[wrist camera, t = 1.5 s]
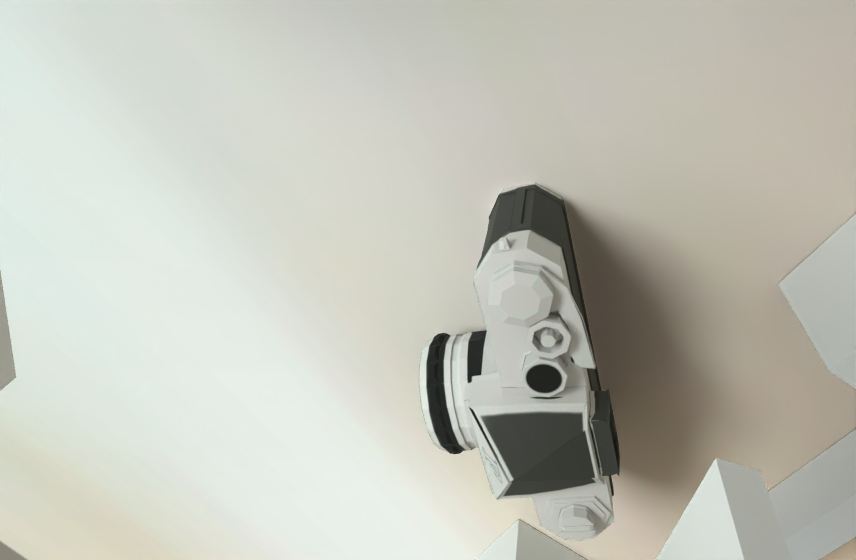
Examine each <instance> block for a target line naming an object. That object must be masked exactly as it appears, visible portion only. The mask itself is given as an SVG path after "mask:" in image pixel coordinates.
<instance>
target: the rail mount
mask: <svg viewBox="0 0 856 560" xmlns="http://www.w3.org/2000/svg"><path fill="white" fill-rule="evenodd" d="M778 285H779V287H780V289H781V290H782V292H783V294H784V296H785V297H786V299H787V301H788V302H789V304H790V306H791V308H792V309H793V311H794V313H795V314H796V316H797V318H798V320H799V321H800V323H801V325H802V326H803V328H804V330H805V332H806V333H807V335H808V337H809V338H810V340H811V342H812V343H813V345H814V347H815V349H816V350H817V352H818V354H819V355H820V357H821V359H822V361H823V362H824V364H825V366H826V367H827V369H828V371H829V372H831V373H832V374H834V375H835V376H837V377H838V378H840V379H841V380H843V381H844V382H846V383H847V384H849V385H850V386H852V387H853V388H854V389H856V214H854V215H853V216H852V217H851V218H850V219H849V220H848V221H847V222H846V223H845V224H843V225H842V226H841V227H840V228H839V229H838V230H837V231H836V232H835V233H834V234H832V235H831V236H830V237H829V238H828V239H827V240H826V241H825V242H824V243H823V244H821V245H820V246H819V247H818V248H817V249H816V250H815V251H814V252H813V253H812V254H810V255H809V256H808V257H807V258H806V259H805V260H804V261H803V262H802V263H800V264H799V265H798V266H797V267H796V268H795V269H794V270H793V271H792V272H791V273H789V274H788V275H787V276H786V277H785V278H784V279H783V280H782V281H781V282H780V283H778ZM768 494H769V497H770V499H771V502H772V505H773V508H774V511H775V514H776V516H777V519H778V522H779V525H780V528H781V531H782V533H783V536H784V539H785V542H786V545H787V548H788V550H789V553H790V556H791V559H792V560H820V559H821V558H823V557H824V556H826V555H828V554H829V553H831V552H833V551H834V550H836V549H837V548H839V547H841V546H842V545H844V544H845V543H847V542H849V541H850V540H852V539H853V538H855V537H856V429H855V430H853V431H852V432H851V433H849V434H848V435H846V436H845V437H844V438H842V439H841V440H839V441H838V442H837V443H835V444H834V445H832V446H831V447H830V448H828V449H827V450H825V451H824V452H823V453H821V454H820V455H818V456H817V457H816V458H814V459H813V460H812V461H810V462H809V463H807V464H806V465H805V466H803V467H802V468H800V469H799V470H798V471H796V472H795V473H793V474H792V475H791V476H789V477H788V478H786V479H785V480H784V481H782V482H781V483H779V484H778V485H777V486H775V487H774V488H773V489H771V490H770V491H768ZM475 560H586V559H584V558H583V557H581V556H579V555H578V554H576V553H574V552H573V551H571V550H569V549H568V548H566V547H564V546H563V545H561V544H559V543H558V542H556V541H554V540H553V539H551V538H549V537H548V536H546V535H544V534H543V533H541V532H539V531H538V530H536V529H534V528H533V527H531V526H529V525H528V524H526V523H524V522H523V521H521V520H519V519H518V520H517V521H516V522H515V523H514V524H513V525H512V526H511V527H510V528H509V529H507V530H506V531H505V532H504V533H503V534H502V535H501V536H500V537H499V538H498V539H496V540H495V541H494V542H493V543H492V544H491V545H490V546H489V547H488V548H487V549H485V550H484V551H483V552H482V553H481V554H480V555H479V556H478V557H477V558H476V559H475Z"/></svg>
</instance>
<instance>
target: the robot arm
mask: <svg viewBox="0 0 856 560" xmlns="http://www.w3.org/2000/svg"><path fill="white" fill-rule="evenodd" d="M14 378H16V373H15V367H14V360H13V353H12V347H11V340H10V333H9V326H8V320H7V313H6V306H5V299H4V293H3V286H2V279H1V272H0V390H2V389H3V388H4V387H5V386H6V385H7V384H9V383H10V382H11V381H12V380H13V379H14ZM656 560H792V559H791V556H790V553H789V550H788V548H787V545H786V542H785V539H784V536H783V533H782V531H781V528H780V525H779V522H778V519H777V516H776V514H775V511H774V508H773V505H772V502H771V499H770V497H769V494H768V491H767V488H766V485H765V482H764V480H763V477H762V474H761V471H760V470H758V469H754V468H750V467H747V466H743V465H739V464H736V463H732V462H729V461H725V460H721V459H718V458H715V460H714V462H713V463H712V465H711V467H710V469H709V470H708V472H707V474H706V475H705V477H704V479H703V480H702V482H701V484H700V485H699V487H698V489H697V491H696V492H695V494H694V496H693V497H692V499H691V501H690V502H689V504H688V506H687V507H686V509H685V511H684V513H683V514H682V516H681V518H680V519H679V521H678V523H677V524H676V526H675V528H674V529H673V531H672V533H671V535H670V536H669V538H668V540H667V541H666V543H665V545H664V546H663V548H662V550H661V551H660V553H659V555H658V557H657V558H656Z"/></svg>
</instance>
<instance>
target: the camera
mask: <svg viewBox="0 0 856 560" xmlns="http://www.w3.org/2000/svg"><path fill="white" fill-rule="evenodd" d="M474 286H475V290H476V293H477V297H478V301H479V304H480V308H481V312H482V315H483V319H484V322H485V326H486V331H479V332H471V333H466V334H464V335H448V334H446V333H441V334H437V335H436V336H435V337H434V338H433V339H431V340H430V341H428V342H427V343H426V345H425V346H424V348H423V350H422V354H421V360H420V365H419V389H420V398H421V406H422V412H423V416H424V420H425V424H426V427H427V430H428V433H429V435H430V437H431V439H432V441H433V443H434V444H435V445H436V446H437V447H438V448H440V449H441V450H444V451H447V452H449V453H450V454H451V453H452V454H459V453H461V452H462V451H465V450H472V449H474V448H475V447H478V448H479V451H480V455H481V458H482V461H483V464H484V468H485V471H486V474H487V478H488V481H489V484H490V487H491V491H492V494H495V496H496V499H508V498H525V497H532V498H533V501H534V505H535V509H536V512H537V516H538V520H539V523H540V525H541V526H542V527H544V528H546V529H547V530H549V531H551V532H553V533H554V534H556V535H558V536H559V537H561V538H563V539H573V540H577V541H582V540H585V539H588V538H595V537H596V536H597V535H598V534H600V533H601V532H602V531H603V530H604V529H606V528H607V527H608V526H609V525H611V524H612V523H613V522H614V516H613V503H612V496H613V495H614V491H613V484H612V478H611V475H614V474H618V475H619V466H620V455H619V445H618V438H617V432H616V427H615V422H614V417H613V412H612V406H611V401H610V396H609V391H608V390H607V391H606V392H605V391H601V387H600V382H599V377H598V371H597V366H596V361H595V356H594V351H593V346H592V341H591V336H590V331H589V326H588V321H587V316H586V311H585V306H584V301H583V295H582V290H581V285H580V280H579V275H578V270H577V265H576V260H575V255H574V250H573V245H572V240H571V235H570V230H569V225H568V219H567V214H566V210H565V206H564V201H563V200H562V198H561V197H559V196H558V195H556V194H554V193H552V192H551V191H549V190H547V189H545V188H544V187H542V186H540V185H538V184H537V183H531V184H526V185H521V186H516V187H511V188H506V189H503V191H502V193H500V194H499V196H498V198H497V200H496V202H495V205H494V207H493V209H492V211H491V214H490V216H489V225H488V231H487V236H486V240H485V244H484V248H483V252H482V256H481V259H480V261H479V263H478V266H477V270H476V274H475V278H474Z"/></svg>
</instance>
